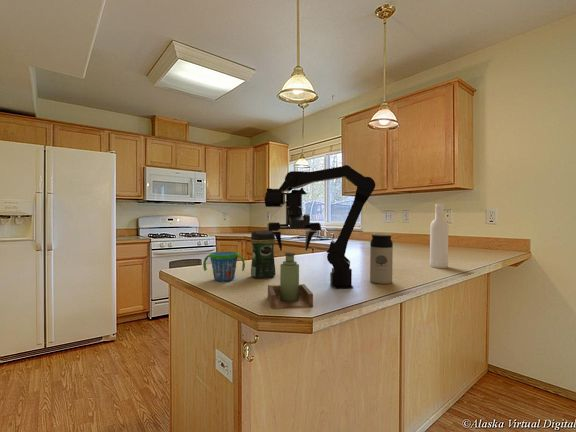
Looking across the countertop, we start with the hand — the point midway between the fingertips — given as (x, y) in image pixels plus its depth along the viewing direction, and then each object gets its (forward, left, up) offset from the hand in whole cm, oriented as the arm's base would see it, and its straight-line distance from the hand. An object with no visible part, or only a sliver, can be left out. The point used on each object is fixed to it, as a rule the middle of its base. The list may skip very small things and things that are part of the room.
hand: (293, 250), depth 113 cm
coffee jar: (+10, -14, -12) cm, 21 cm away
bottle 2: (-75, -26, -12) cm, 80 cm away
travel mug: (-33, +1, -12) cm, 35 cm away
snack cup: (+25, -10, -12) cm, 30 cm away
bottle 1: (+5, +22, -11) cm, 25 cm away
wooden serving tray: (+5, +22, -12) cm, 26 cm away
